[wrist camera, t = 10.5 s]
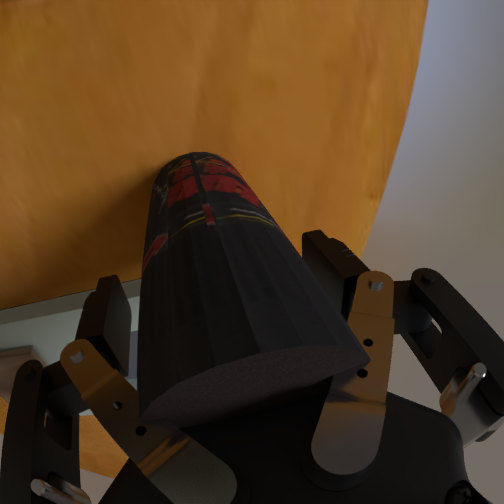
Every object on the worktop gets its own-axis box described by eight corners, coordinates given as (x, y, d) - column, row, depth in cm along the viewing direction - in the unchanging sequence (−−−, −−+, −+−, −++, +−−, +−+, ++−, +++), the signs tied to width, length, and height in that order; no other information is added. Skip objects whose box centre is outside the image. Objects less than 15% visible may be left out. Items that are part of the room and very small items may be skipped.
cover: (-29, 354, 17) (-44, 393, 13) (32, 347, 18) (19, 394, 14) (21, 408, 22) (14, 444, 18) (83, 405, 23) (80, 447, 19)
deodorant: (261, 203, 20) (393, 395, 8) (190, 254, 21) (236, 475, 8) (208, 132, 17) (327, 288, 4) (132, 193, 17) (86, 429, 5)
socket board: (-24, 315, 18) (-31, 330, 16) (197, 265, 21) (201, 282, 20) (48, 402, 26) (46, 416, 24) (228, 376, 29) (232, 392, 27)
